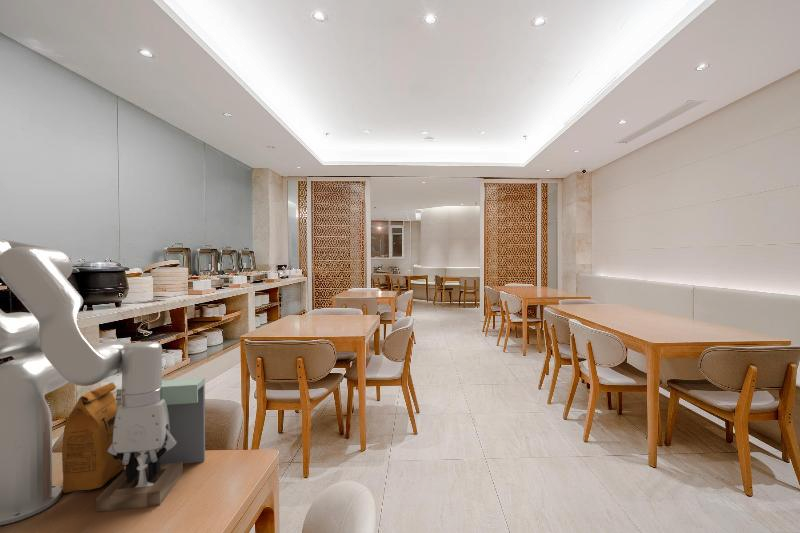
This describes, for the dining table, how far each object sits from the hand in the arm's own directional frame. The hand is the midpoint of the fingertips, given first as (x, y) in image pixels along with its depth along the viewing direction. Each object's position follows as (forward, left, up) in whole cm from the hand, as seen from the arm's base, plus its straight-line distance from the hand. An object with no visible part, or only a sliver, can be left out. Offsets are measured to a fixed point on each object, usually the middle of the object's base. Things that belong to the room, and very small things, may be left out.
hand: (143, 477), depth 83 cm
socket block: (0, 0, -3) cm, 3 cm away
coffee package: (-13, +8, -3) cm, 16 cm away
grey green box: (0, +10, -3) cm, 11 cm away
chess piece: (0, 0, -3) cm, 3 cm away
